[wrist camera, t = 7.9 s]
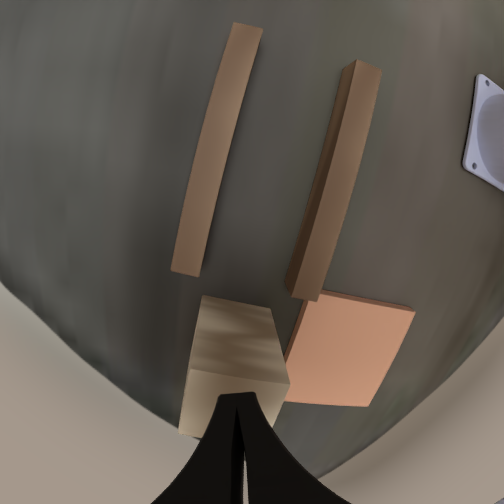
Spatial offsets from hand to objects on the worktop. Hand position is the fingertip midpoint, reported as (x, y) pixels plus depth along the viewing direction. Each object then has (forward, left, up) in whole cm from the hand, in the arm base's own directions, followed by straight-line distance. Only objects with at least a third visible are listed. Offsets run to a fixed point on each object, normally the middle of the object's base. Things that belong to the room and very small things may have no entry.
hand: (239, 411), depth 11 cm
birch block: (0, +2, -10) cm, 10 cm away
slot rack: (0, -9, -10) cm, 14 cm away
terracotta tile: (-9, +2, -10) cm, 13 cm away
